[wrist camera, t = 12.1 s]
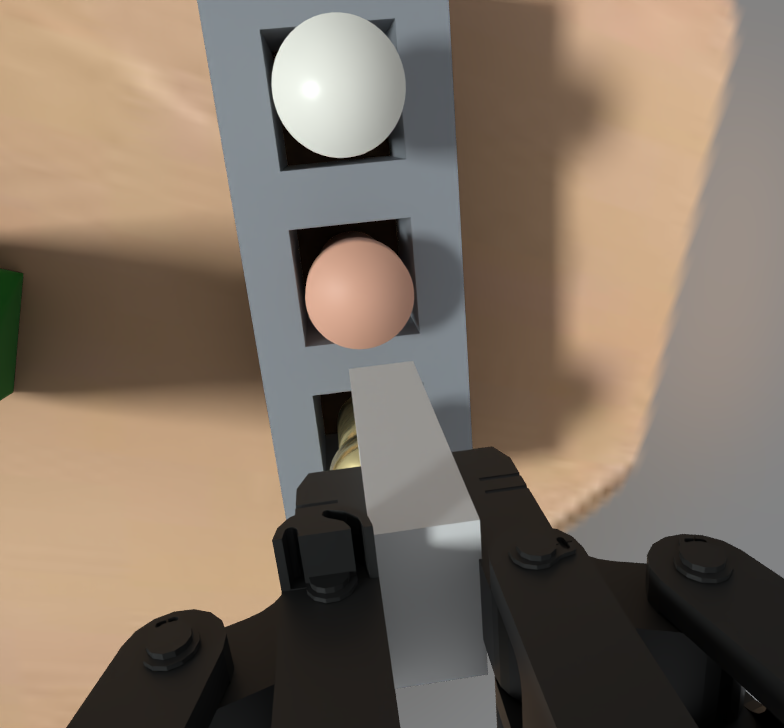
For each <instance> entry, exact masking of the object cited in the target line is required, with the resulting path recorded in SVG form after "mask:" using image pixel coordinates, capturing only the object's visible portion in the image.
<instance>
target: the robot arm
mask: <svg viewBox="0 0 784 728" xmlns="http://www.w3.org/2000/svg"><path fill="white" fill-rule="evenodd" d="M349 375H350V383H351V391H352V400H353V408H354V416H355V424H356V432H357V440H358V448H359V457H360V465H361V466H358V467H351V468H344V469H336V470H329V471H321V472H314V473H308V475H307V476H306V477H305V479H304V480H303V481H302V483H301V484H300V485H299V486H298V488H297V491H296V509H295V515H294V516H292V517H290V518H288V519H287V520H286V521H285V522H284V523H283V524H282V525H280V526H279V527H278V528H277V530H276V533H275V535H274V537H273V539H272V542H273V547H274V552H275V558H276V563H277V569H278V574H279V579H280V585H281V590H282V595H281V596H280V597H279V598H278V599H277V601H276V602H275V603H273V604H272V605H271V606H269V607H268V608H266V609H265V610H263V611H262V612H260V613H258V614H256V615H254V616H252V617H250V618H248V619H245V620H243V621H240V622H237V623H235V624H232V625H230V626H227V627H224V625H223V622H222V620H221V619H219V618H218V617H216V616H215V615H214V614H212V613H211V612H206V611H201V610H195V609H193V610H184V611H176V612H172V613H170V614H167V615H164V616H162V617H159V618H156V619H154V620H152V621H151V622H149V623H148V624H146V625H145V626H143V627H142V628H140V629H138V630H137V631H136V632H135V633H134V634H133V635H132V636H131V637H130V638H129V639H128V640H127V641H126V642H125V643H124V645H123V646H122V647H121V648H120V650H119V651H118V653H117V654H116V656H115V657H114V659H113V660H112V662H111V663H110V664H109V666H108V667H107V669H106V670H105V672H104V673H103V675H102V676H101V678H100V679H99V681H98V682H97V683H96V685H95V686H94V688H93V689H92V691H91V692H90V694H89V695H88V697H87V698H86V700H85V701H84V702H83V704H82V705H81V707H80V708H79V710H78V711H77V713H76V714H75V716H74V717H73V719H72V720H71V722H70V723H69V724H68V726H67V727H66V728H400V723H399V715H398V708H397V701H396V694H395V689H399V688H405V687H411V686H418V685H424V684H431V683H437V682H443V681H450V680H455V679H462V678H468V677H474V676H481V675H487V674H488V668H487V653H488V656H489V659H490V662H491V665H492V668H493V671H494V674H495V692H496V713H497V728H784V579H783V578H782V577H780V576H779V575H778V574H776V573H775V572H773V571H772V570H770V569H769V568H767V567H766V566H764V565H763V564H761V563H760V562H758V561H756V560H755V559H754V558H752V557H751V556H749V555H748V554H746V553H745V552H743V551H742V550H740V549H738V548H736V547H734V546H732V545H730V544H728V543H726V542H724V541H721V540H718V539H714V538H711V537H707V536H703V535H689V534H680V535H675V536H669V537H665V538H663V539H661V540H659V541H658V542H656V543H654V544H653V545H652V547H651V549H650V550H649V552H648V555H647V564H644V563H630V562H616V561H609V560H602V559H596V558H593V557H590V556H588V554H587V553H586V551H585V550H584V548H583V547H582V546H581V545H580V544H579V543H578V542H577V541H576V540H575V539H574V538H573V537H572V536H570V535H568V534H566V533H564V532H562V531H560V530H558V529H553V528H552V527H551V525H550V523H549V522H548V520H547V518H546V517H545V515H544V513H543V512H542V510H541V508H540V507H539V505H538V503H537V502H536V500H535V498H534V497H533V495H532V493H531V492H530V490H529V488H527V486H526V483H525V482H524V480H523V478H522V477H521V476H520V475H519V472H518V470H517V468H516V467H515V465H514V463H513V462H512V460H511V458H510V457H508V456H506V455H505V454H503V453H502V452H500V451H498V450H497V449H495V448H494V447H485V448H478V449H470V450H463V451H456V452H451V450H450V448H449V445H448V443H447V441H446V438H445V436H444V434H443V431H442V429H441V426H440V424H439V422H438V419H437V417H436V415H435V412H434V410H433V408H432V405H431V403H430V400H429V398H428V396H427V393H426V391H425V389H424V386H423V384H422V381H421V379H420V377H419V374H418V372H417V370H416V367H415V365H414V362H413V361H409V362H401V363H393V364H385V365H377V366H369V367H361V368H353V369H349ZM745 689H746V690H747V691H748V692H749V693H750V694H751V695H753V696H754V697H755V698H756V699H757V700H758V701H759V702H760V703H759V702H758V701H756V700H755V699H754V698H753V697H752V696H750V695H749V694H748V693H747V692H746V691H745Z"/></svg>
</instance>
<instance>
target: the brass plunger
mask: <svg viewBox="0 0 784 728" xmlns="http://www.w3.org/2000/svg"><path fill="white" fill-rule="evenodd" d="M337 427H338V443H339V450H338V451H337V452H336V454H335V456H334V458H333V460H332V463H331V466H330V470H336V469H344V468H351V467H358V466H361V465H360V457H359V448H358V440H357V432H356V424H355V416H354V408H353V400H352V396H351V397H350V398H349V399H347V401H346V402H345V403H344V404H343V405H342V407H341V409H340V411H339V413H338V418H337Z"/></svg>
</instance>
